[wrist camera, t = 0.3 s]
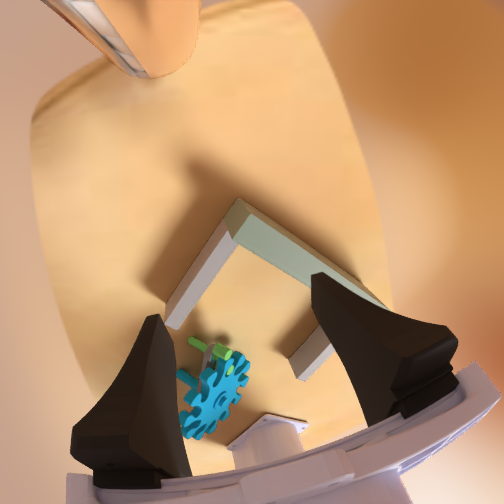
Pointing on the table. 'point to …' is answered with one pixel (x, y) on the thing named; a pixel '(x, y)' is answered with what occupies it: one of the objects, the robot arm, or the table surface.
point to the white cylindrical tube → (136, 31)
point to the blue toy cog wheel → (212, 388)
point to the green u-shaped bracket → (276, 253)
